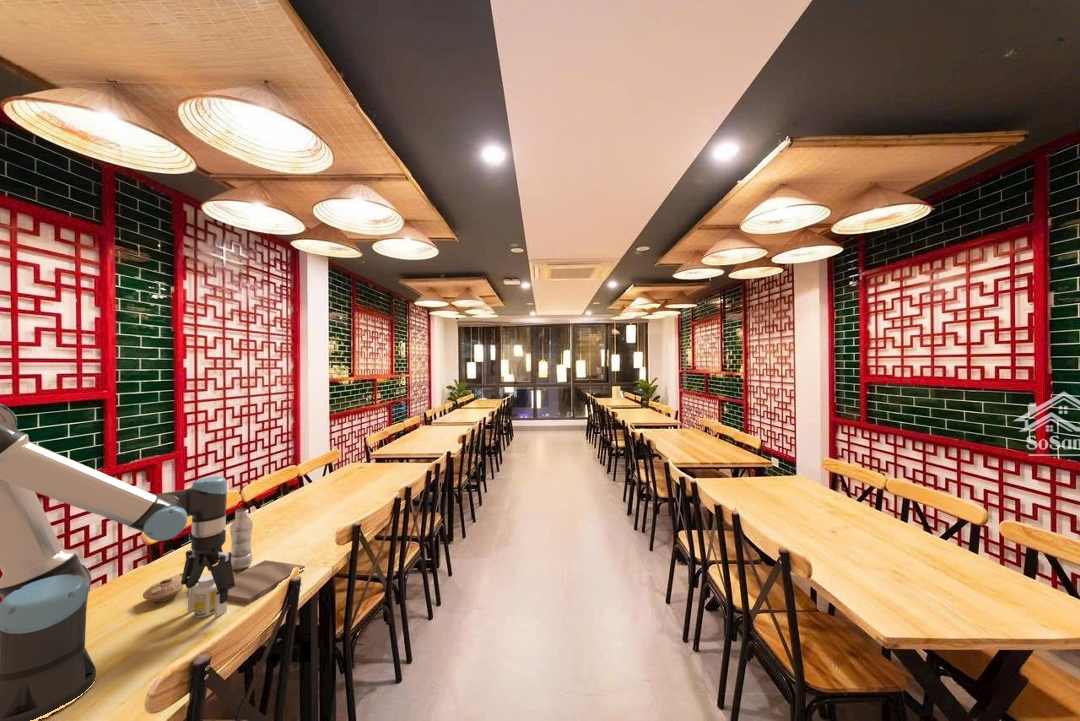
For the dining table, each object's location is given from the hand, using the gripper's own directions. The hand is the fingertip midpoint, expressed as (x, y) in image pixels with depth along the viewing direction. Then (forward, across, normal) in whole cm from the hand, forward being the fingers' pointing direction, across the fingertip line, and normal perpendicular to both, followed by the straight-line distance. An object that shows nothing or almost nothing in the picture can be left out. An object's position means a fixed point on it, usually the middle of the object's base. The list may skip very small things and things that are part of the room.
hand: (207, 611), depth 110 cm
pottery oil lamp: (+1, +20, -4) cm, 21 cm away
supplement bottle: (0, 0, 0) cm, 0 cm away
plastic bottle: (0, +15, -22) cm, 27 cm away
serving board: (0, 0, -16) cm, 16 cm away
